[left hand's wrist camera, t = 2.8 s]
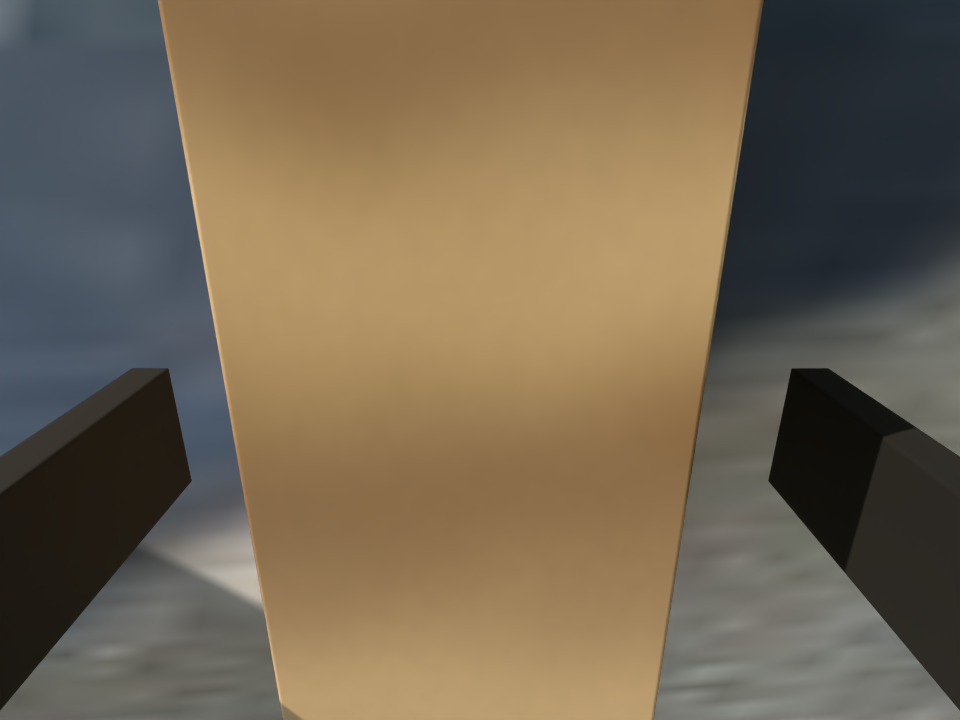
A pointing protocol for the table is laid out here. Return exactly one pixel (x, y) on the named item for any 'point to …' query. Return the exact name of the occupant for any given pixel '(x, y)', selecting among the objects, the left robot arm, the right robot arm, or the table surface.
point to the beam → (464, 331)
